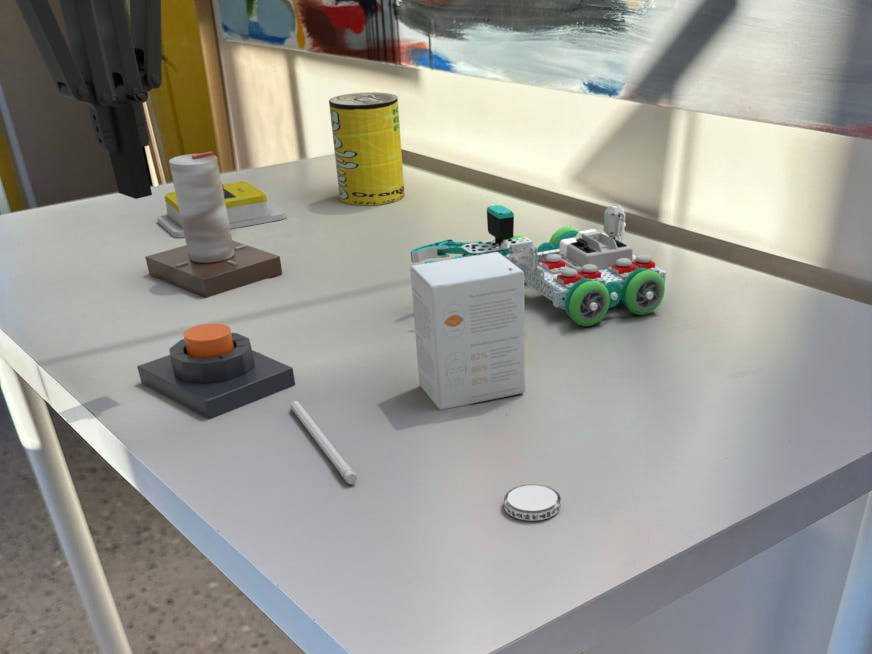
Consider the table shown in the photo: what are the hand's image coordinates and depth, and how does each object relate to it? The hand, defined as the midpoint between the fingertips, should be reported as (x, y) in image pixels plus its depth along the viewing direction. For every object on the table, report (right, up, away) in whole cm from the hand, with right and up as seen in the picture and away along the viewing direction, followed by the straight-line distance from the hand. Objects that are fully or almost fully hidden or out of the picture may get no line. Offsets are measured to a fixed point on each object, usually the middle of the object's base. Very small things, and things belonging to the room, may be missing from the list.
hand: (135, 193), depth 78 cm
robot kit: (+34, -1, +22) cm, 41 cm away
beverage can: (+13, +25, +56) cm, 63 cm away
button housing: (+4, -13, +8) cm, 16 cm away
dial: (-2, +7, +31) cm, 32 cm away
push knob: (+4, -11, +6) cm, 13 cm away
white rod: (+15, -21, -1) cm, 26 cm away
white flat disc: (+32, -27, -10) cm, 42 cm away
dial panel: (-2, +6, +32) cm, 33 cm away
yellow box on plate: (-6, +19, +49) cm, 53 cm away
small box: (+27, -15, +6) cm, 31 cm away
